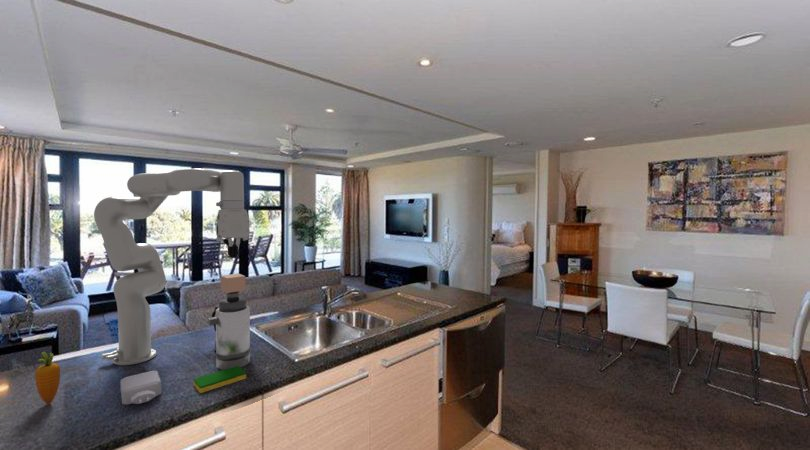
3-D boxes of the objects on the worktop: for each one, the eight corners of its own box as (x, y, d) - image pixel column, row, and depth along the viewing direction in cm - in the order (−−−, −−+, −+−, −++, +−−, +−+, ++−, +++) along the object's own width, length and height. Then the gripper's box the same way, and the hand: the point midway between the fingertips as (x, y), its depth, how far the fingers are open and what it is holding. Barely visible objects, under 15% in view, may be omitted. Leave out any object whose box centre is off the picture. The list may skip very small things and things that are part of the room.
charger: (123, 416, 95) (120, 393, 107) (164, 404, 101) (157, 383, 113) (123, 399, 95) (120, 378, 106) (164, 388, 101) (157, 369, 112)
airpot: (215, 375, 118) (214, 296, 117) (204, 364, 126) (203, 290, 125) (255, 363, 128) (255, 289, 127) (242, 353, 136) (242, 284, 134)
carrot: (62, 403, 100) (60, 352, 99) (36, 411, 96) (34, 357, 96) (60, 397, 103) (58, 347, 103) (35, 404, 100) (34, 352, 99)
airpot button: (227, 293, 122) (227, 278, 122) (220, 290, 126) (220, 275, 126) (245, 290, 127) (245, 275, 126) (238, 287, 131) (238, 273, 131)
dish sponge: (246, 379, 117) (246, 372, 117) (200, 394, 107) (200, 386, 107) (238, 372, 122) (238, 365, 122) (193, 386, 112) (193, 378, 112)
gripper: (213, 205, 117) (214, 260, 118) (257, 206, 128) (258, 256, 129) (205, 205, 122) (206, 258, 123) (249, 206, 133) (249, 254, 134)
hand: (233, 257), depth 126 cm, fingers closed
